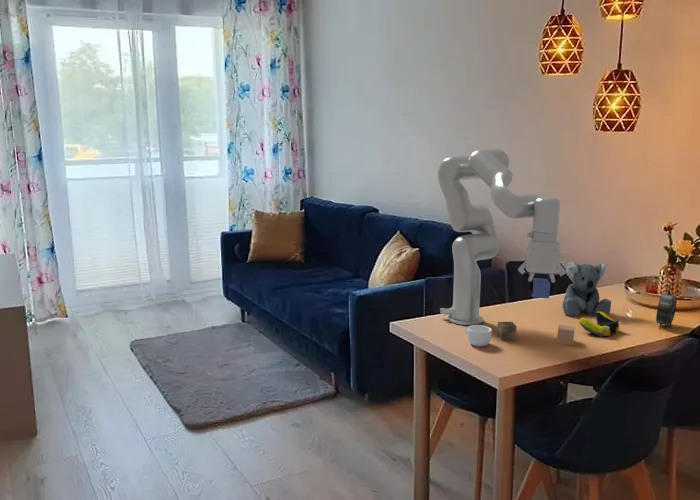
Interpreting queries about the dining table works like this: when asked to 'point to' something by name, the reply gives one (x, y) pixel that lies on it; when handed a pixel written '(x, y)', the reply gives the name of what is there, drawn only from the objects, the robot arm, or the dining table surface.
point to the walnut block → (506, 331)
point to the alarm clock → (666, 308)
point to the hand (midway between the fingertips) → (540, 292)
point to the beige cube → (565, 334)
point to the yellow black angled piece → (600, 325)
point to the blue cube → (541, 288)
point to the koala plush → (584, 290)
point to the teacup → (479, 335)
